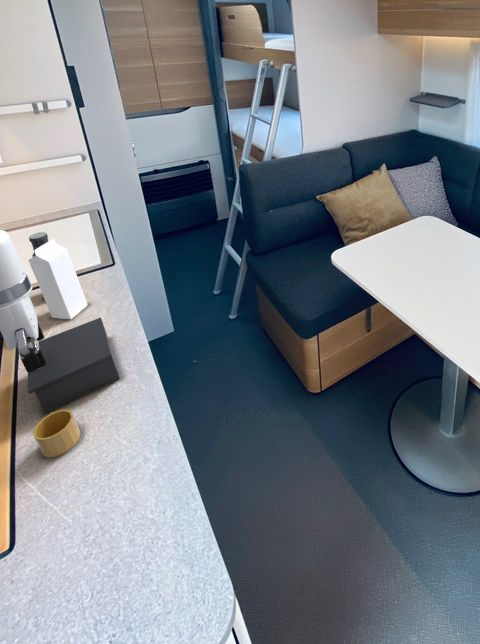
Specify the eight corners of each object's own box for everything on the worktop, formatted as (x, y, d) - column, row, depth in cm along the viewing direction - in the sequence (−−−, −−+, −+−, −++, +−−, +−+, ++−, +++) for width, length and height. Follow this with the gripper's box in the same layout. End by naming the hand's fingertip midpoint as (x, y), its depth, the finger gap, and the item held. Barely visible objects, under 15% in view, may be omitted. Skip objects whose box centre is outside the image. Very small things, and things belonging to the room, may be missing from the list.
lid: (29, 394, 82) (20, 375, 80) (28, 348, 94) (19, 331, 92) (112, 357, 91) (105, 339, 89) (101, 319, 102) (95, 302, 100)
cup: (37, 462, 76) (27, 444, 74) (48, 433, 82) (40, 415, 80) (75, 450, 78) (67, 432, 76) (84, 422, 83) (76, 405, 82)
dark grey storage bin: (45, 414, 85) (34, 392, 83) (41, 367, 97) (32, 347, 94) (119, 378, 93) (112, 357, 91) (108, 339, 105) (101, 319, 102)
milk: (52, 318, 113) (22, 250, 104) (70, 303, 118) (43, 237, 110) (71, 319, 112) (43, 251, 103) (88, 305, 117) (63, 238, 109)
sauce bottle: (50, 302, 119) (27, 244, 111) (40, 296, 122) (16, 238, 114) (75, 290, 124) (54, 233, 116) (64, 284, 127) (43, 228, 119)
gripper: (-16, 277, 86) (14, 340, 92) (-22, 321, 73) (14, 390, 80) (29, 263, 90) (55, 324, 97) (30, 303, 77) (60, 369, 84)
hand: (36, 354), depth 88 cm, fingers open, 9 cm apart
